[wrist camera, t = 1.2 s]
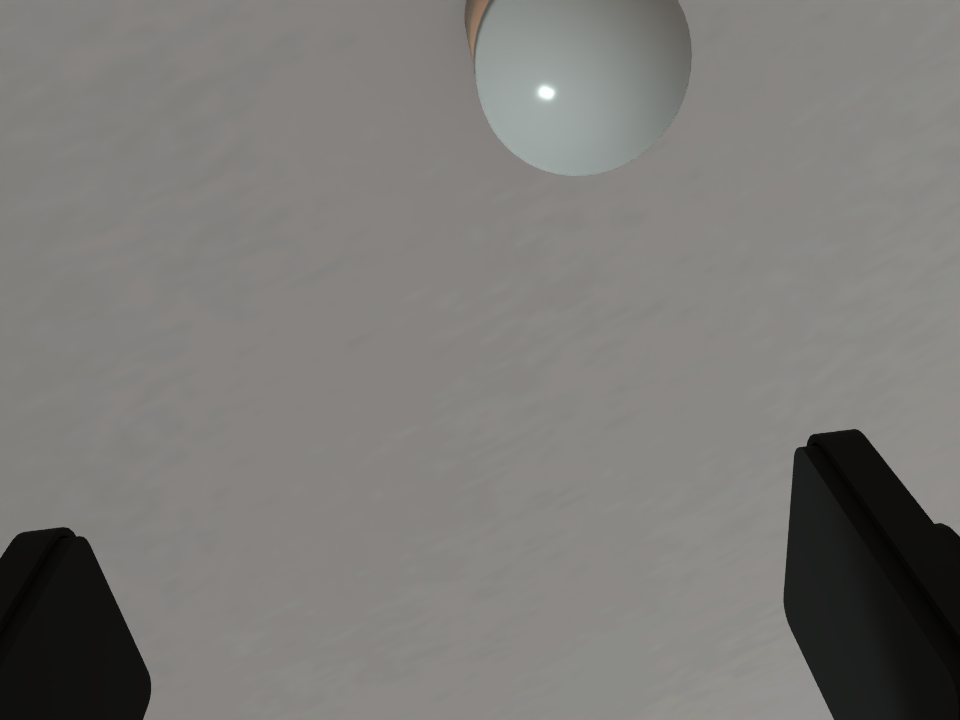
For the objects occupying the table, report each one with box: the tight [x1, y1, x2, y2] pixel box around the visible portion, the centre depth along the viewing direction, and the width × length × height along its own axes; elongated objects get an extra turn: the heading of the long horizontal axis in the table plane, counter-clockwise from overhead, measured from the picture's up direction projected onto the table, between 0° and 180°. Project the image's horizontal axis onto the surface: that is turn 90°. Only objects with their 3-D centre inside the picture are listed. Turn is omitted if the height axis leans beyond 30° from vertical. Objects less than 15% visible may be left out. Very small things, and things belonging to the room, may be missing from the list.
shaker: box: [465, 0, 692, 176], centre depth 24 cm, size 5×5×10 cm
